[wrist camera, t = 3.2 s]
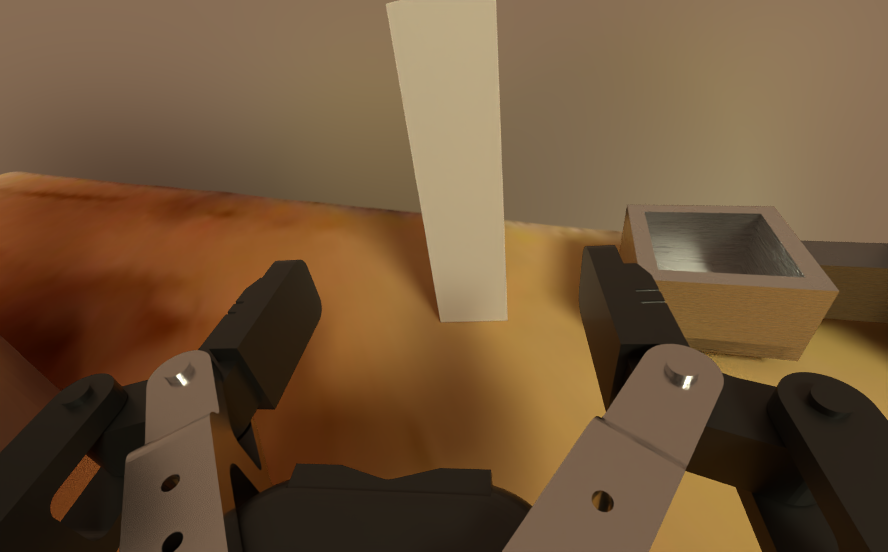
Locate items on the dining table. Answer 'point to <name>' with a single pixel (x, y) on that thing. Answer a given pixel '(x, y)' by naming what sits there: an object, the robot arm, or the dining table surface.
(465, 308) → the rail post
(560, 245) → the dining table surface
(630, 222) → the cup bracket
